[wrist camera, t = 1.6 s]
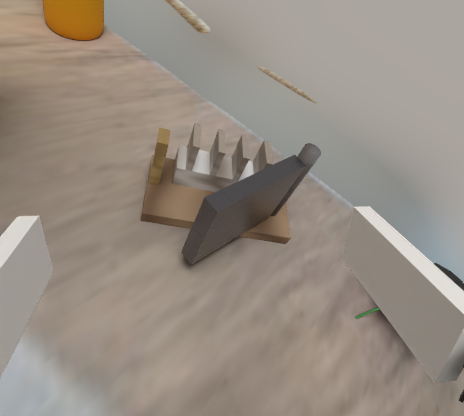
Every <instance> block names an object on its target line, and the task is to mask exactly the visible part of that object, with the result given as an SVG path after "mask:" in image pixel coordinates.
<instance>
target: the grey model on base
mask: <svg viewBox="0 0 464 416" xmlns="http://www.w3.org/2000/svg"><path fill="white" fill-rule="evenodd" d="M169 136H170V130H167V129H162V128H160V129H159V134H158V139H157V144H156V149H155V154H154V155H152V160H151V165H150V171H149V176H148V182H147V188H146V193H145V199H144V204H143V210H142V216H141V221H147V222H153V223H160V224H166V225H172V226H178V227H185V228H192V226H193V223H194V221H195V219H196V216H197V214H198V211H199V209H200V207H201V204H202V202H203V199H204V197H206V196H208V195H210V194H212V193H215V192H217V191H219V190H221V189H223V188H225V187H227V186H229V185H232V184H234V183H236V182H238V181H240V180H242V179H244V178H246V177H249V176H251V175H253V174H255V173H257V172H259V171H261V170H263V169H265V168H268V167H270V166H272V165H273V160H272V153H271V145H270V142H269V141H265V140H264V142H263V144H262V145H261V147H260V149H259V151H258V153H257V155H256V157H255V159H254V161H253V162H251V161H249V159H250V157H249V144H248V136H245V135H242V136H241V138H240V140H239V142H238V145H237V147H236V149H235V151H234V153H233V156H232V157H229V156H224V155H225V131H224V130H220V129H219V130H218V132H217V135H216V138H215V140H214V143H213V146H212V148H211V151H210V152H207V151H202V150H199V149H200V137H201V125H200V124H196V123H195V124H194V127H193V130H192V134H191V137H190V140H189V144H188V147H185V146H180V145H179V147H178V151H177V155H176V158H175V160H174V159H169V158H165V157H166V152H167V148H168V143H169ZM320 155H321V151H320V149H319V148H318V147H317V146H315V145H313V144H310V143H308V144H305V146H304V147H303V149H302V150H301V152H300V153H299V155H298V156H297V157H298V158H299V159H300V160H301V161H302V162H303V163H304V164H305V165H306V167H305V168H304V170H303V171H302V172H301V174H300V175H299V177H298V178H297V179H296V181H295V182H294V183H293V185H292V186H291V188H290V189H289V190H288V192H287V193H286V195H285V196H284V197H283V199H282V200H281V202H280V203H279V204H278V206H277V207H276V208H275V210H274V211H273V213H272V214H271V215H270V217H269V218H267V219H266V220H264V221H262V222H261V223H259V224H257V225H256V226H254V227H253V228H251V229H249V230H248V231H246V232H244V233H243V234H241V235H240V237H247V238H253V239H259V240H265V241H272V242H278V243H284V244H286V243H287V242H288V241H289V240H290V238H291V236H290V229H289V223H288V216H287V210H286V203H285V202H286V201H287V200H288V198H289V197H290V195H291V194H292V193H293V191H294V190H295V189H296V187H297V186H298V185H299V183H300V182H301V181H302V179H303V178H304V177H305V175H306V174H307V173H308V171H309V170H310V168H311V167H312V166H313V164H314V163H315V161H316V160H317V159H318V158H319V156H320Z"/></svg>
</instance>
